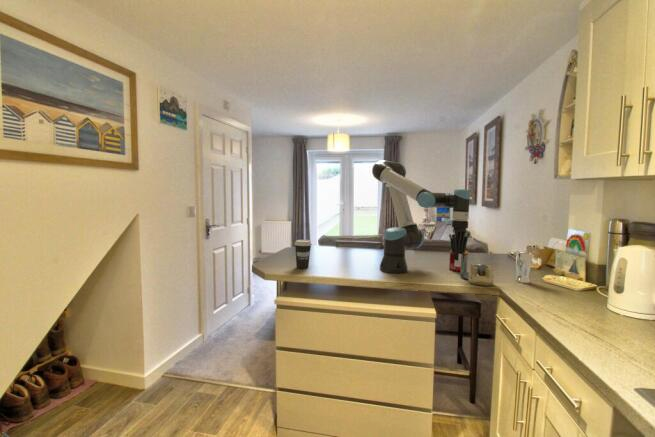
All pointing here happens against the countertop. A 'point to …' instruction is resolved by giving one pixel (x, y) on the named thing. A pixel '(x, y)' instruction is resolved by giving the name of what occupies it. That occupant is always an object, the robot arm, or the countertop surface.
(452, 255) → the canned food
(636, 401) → the countertop surface
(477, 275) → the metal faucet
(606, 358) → the countertop surface
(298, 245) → the coffee cup
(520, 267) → the beer glass
